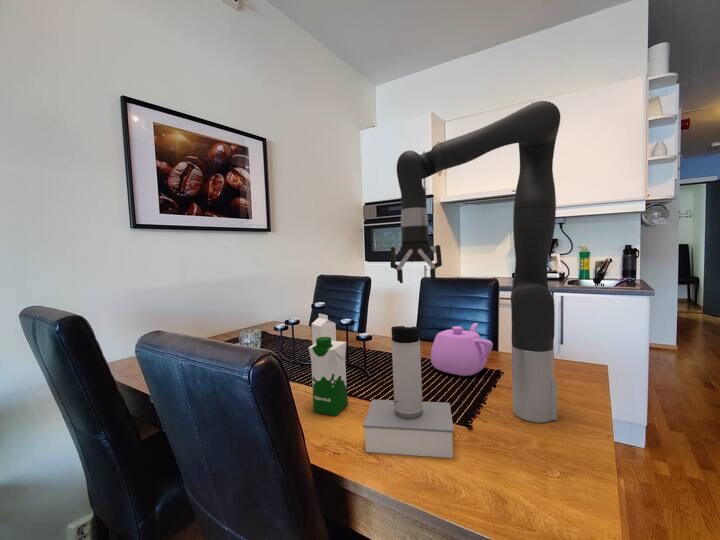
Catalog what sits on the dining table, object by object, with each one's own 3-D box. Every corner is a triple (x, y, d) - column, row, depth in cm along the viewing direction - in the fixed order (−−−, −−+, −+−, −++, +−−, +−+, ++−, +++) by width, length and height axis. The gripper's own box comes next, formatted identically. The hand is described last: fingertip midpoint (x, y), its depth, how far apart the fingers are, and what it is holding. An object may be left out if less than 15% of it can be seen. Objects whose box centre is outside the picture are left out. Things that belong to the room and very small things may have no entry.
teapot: (481, 385, 105) (479, 337, 105) (424, 370, 121) (422, 328, 120) (511, 366, 121) (510, 323, 120) (457, 354, 136) (456, 317, 136)
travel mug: (390, 417, 75) (386, 327, 74) (399, 404, 82) (395, 321, 80) (418, 421, 73) (415, 328, 72) (425, 408, 79) (422, 322, 78)
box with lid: (450, 427, 82) (449, 402, 82) (454, 459, 70) (453, 430, 69) (373, 423, 85) (372, 399, 85) (364, 452, 73) (362, 425, 73)
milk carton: (308, 413, 92) (304, 339, 91) (325, 399, 100) (322, 331, 99) (337, 418, 88) (333, 342, 87) (352, 404, 97) (349, 333, 96)
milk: (323, 382, 113) (319, 316, 112) (314, 377, 118) (310, 314, 117) (338, 378, 117) (335, 314, 116) (329, 373, 122) (325, 311, 120)
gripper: (387, 226, 95) (390, 284, 95) (441, 223, 92) (442, 283, 93) (390, 227, 102) (392, 282, 103) (440, 224, 99) (441, 280, 100)
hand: (416, 282), depth 98 cm, fingers open, 8 cm apart
